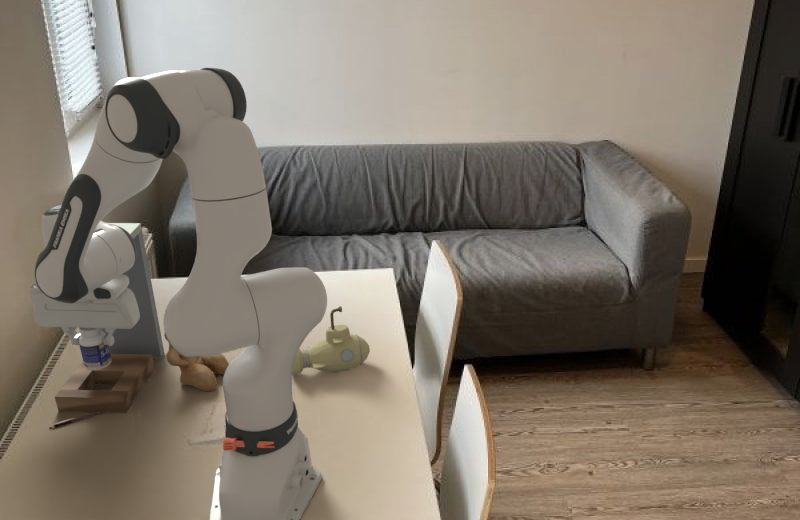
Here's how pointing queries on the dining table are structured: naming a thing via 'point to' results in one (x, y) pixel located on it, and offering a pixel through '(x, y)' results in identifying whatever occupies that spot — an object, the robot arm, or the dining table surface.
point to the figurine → (198, 368)
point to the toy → (333, 351)
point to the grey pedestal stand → (139, 305)
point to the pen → (75, 419)
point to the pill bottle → (94, 349)
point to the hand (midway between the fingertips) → (93, 343)
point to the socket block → (121, 373)
